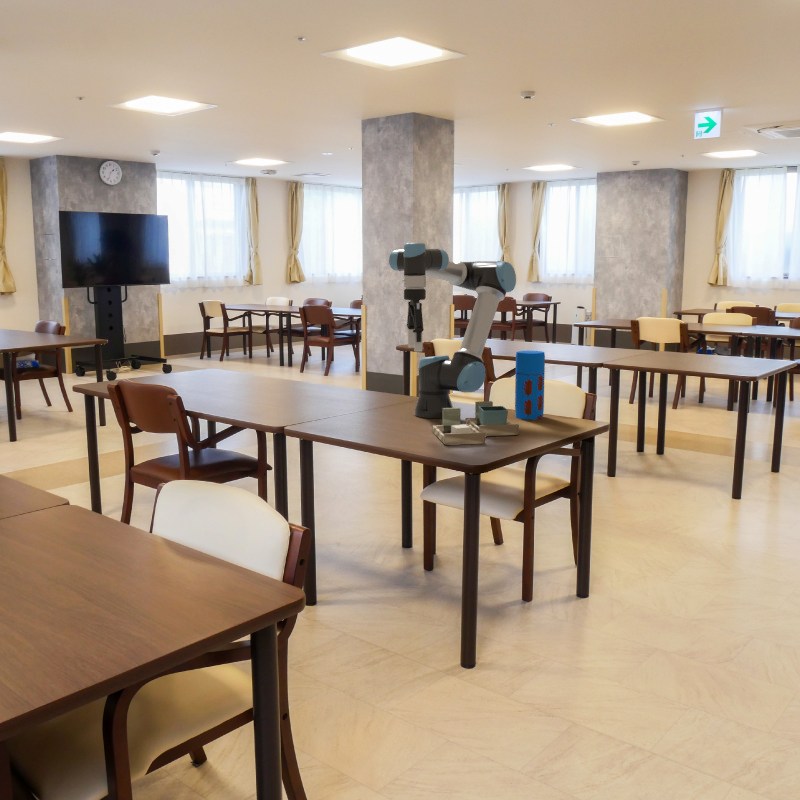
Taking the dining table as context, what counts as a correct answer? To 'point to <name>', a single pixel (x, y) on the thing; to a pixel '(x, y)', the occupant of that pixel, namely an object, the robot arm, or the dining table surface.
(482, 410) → the flower pot
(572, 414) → the dining table surface
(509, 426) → the oak sled
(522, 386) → the thermos
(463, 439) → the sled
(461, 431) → the cream cube
